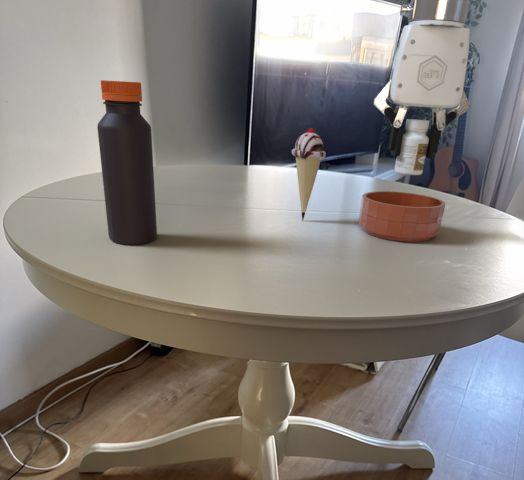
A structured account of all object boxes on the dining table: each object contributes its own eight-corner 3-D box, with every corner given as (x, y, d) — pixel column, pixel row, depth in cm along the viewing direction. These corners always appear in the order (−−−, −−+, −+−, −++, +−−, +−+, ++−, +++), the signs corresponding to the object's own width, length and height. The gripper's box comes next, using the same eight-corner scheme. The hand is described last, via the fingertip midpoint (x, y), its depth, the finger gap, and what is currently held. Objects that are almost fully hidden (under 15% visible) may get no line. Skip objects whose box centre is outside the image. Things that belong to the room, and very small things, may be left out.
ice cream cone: (314, 226, 82) (324, 130, 74) (282, 222, 83) (289, 127, 76) (321, 219, 86) (331, 128, 79) (291, 215, 88) (298, 125, 81)
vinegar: (146, 230, 74) (137, 82, 64) (164, 242, 69) (157, 83, 59) (102, 235, 70) (85, 79, 61) (118, 247, 65) (102, 80, 56)
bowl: (426, 225, 87) (433, 193, 84) (447, 245, 75) (456, 210, 72) (353, 220, 87) (358, 189, 84) (363, 240, 75) (368, 204, 73)
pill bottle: (421, 176, 74) (432, 121, 70) (392, 173, 75) (401, 119, 72) (422, 173, 78) (433, 120, 74) (395, 170, 79) (404, 118, 75)
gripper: (381, 8, 63) (360, 155, 72) (509, 16, 63) (473, 163, 72) (372, 16, 70) (354, 150, 79) (488, 23, 70) (457, 157, 78)
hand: (411, 155), depth 75 cm, fingers closed on pill bottle, 4 cm apart
